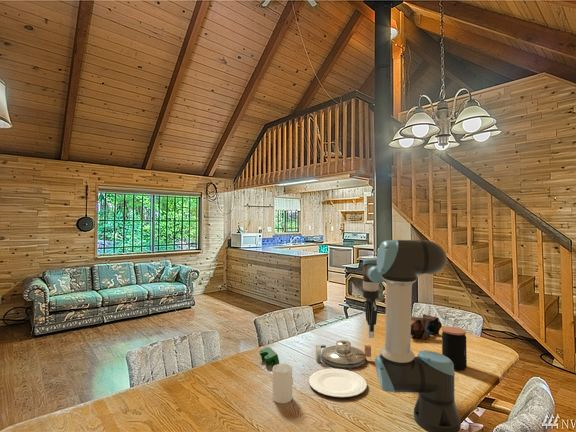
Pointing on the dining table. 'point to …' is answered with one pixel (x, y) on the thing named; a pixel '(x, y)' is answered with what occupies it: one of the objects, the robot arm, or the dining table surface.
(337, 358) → the turntable
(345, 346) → the cover
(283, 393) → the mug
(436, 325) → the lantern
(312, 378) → the plate
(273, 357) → the clamp
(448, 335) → the coffee jar
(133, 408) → the dining table surface
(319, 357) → the turntable base
